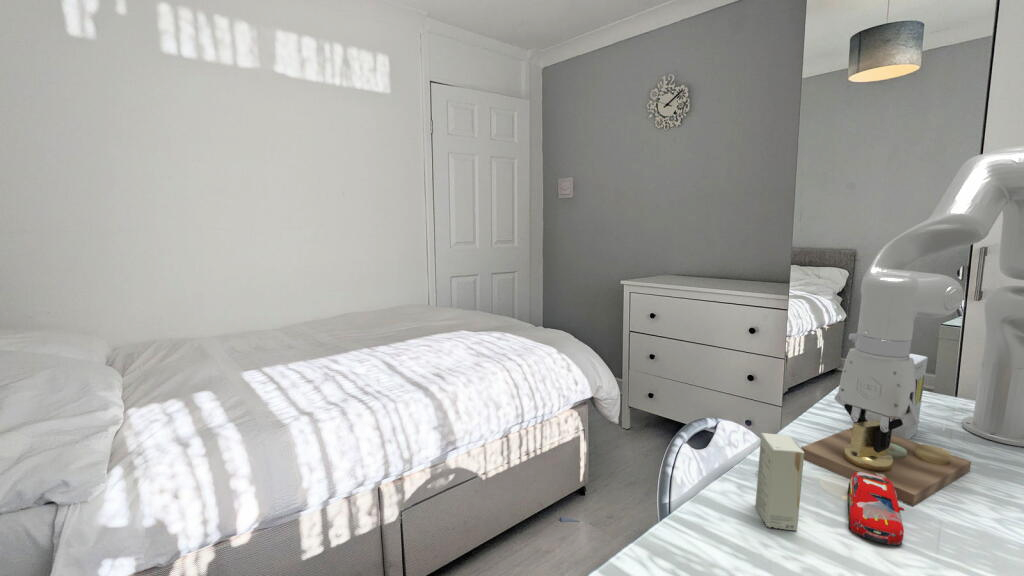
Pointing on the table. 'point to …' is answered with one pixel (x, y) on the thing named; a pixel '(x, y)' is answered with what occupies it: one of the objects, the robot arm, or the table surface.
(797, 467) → the skincare box
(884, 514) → the race car
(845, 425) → the table surface
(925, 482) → the brown flat rectangular board
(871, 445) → the wing knob
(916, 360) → the supplement box
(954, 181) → the robot arm
